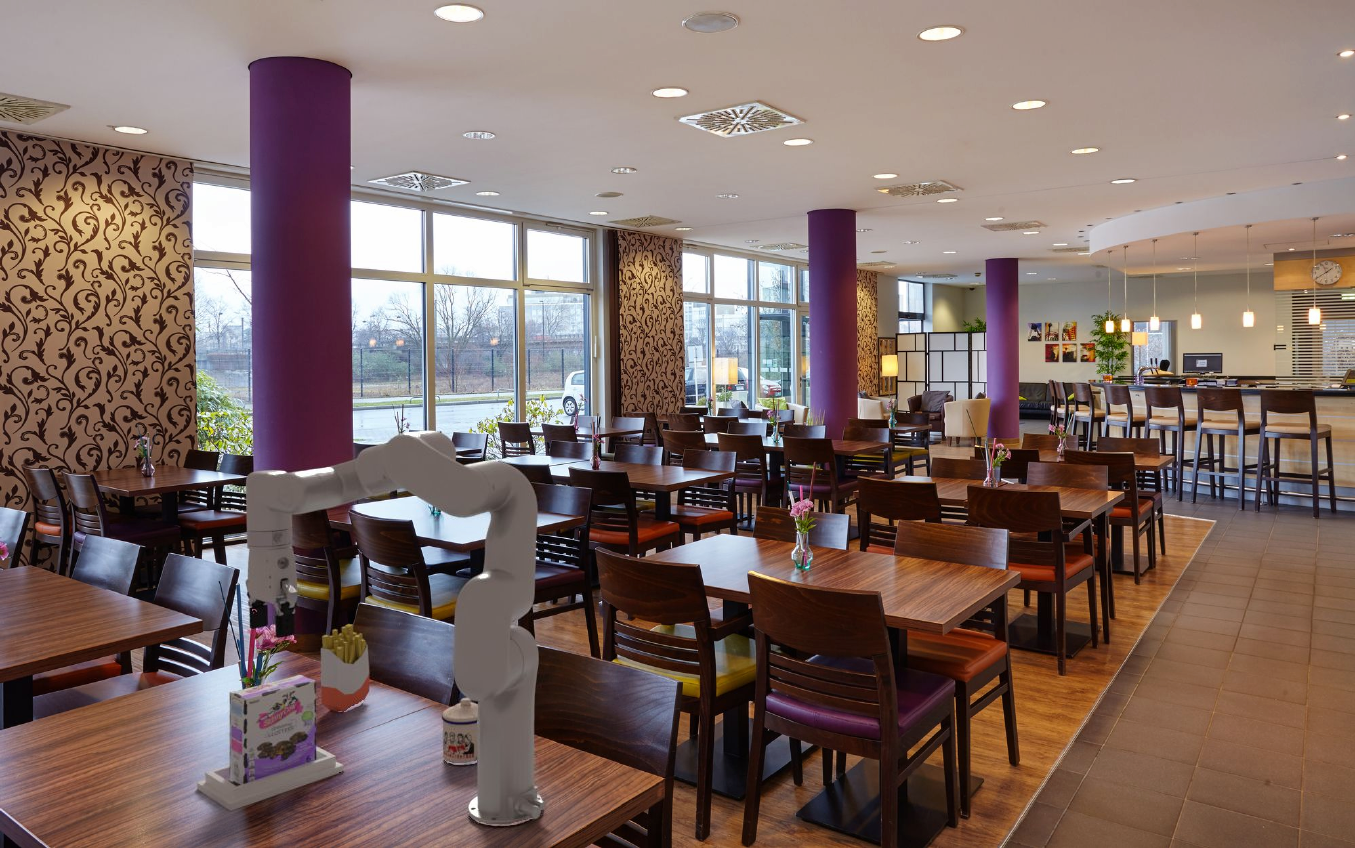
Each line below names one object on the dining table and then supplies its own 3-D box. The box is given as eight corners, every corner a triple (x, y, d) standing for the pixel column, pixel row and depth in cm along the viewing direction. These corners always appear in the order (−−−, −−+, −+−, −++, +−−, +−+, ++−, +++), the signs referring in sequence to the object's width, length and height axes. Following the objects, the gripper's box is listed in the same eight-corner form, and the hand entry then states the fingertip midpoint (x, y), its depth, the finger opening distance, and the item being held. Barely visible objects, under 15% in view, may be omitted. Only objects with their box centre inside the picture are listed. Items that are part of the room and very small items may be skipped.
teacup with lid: (433, 764, 175) (432, 704, 174) (456, 746, 183) (456, 689, 183) (490, 771, 172) (490, 710, 171) (510, 752, 180) (510, 694, 180)
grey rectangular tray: (343, 771, 171) (343, 755, 171) (230, 810, 155) (230, 793, 155) (308, 753, 179) (308, 738, 179) (197, 788, 163) (196, 772, 163)
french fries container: (370, 701, 209) (370, 623, 208) (337, 717, 199) (337, 635, 198) (354, 698, 211) (354, 622, 210) (321, 714, 200) (320, 633, 200)
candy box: (244, 791, 160) (243, 698, 159) (228, 781, 163) (227, 691, 163) (317, 765, 170) (317, 679, 170) (301, 757, 174) (300, 672, 173)
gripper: (313, 540, 163) (315, 635, 163) (267, 531, 174) (269, 620, 174) (272, 546, 157) (274, 644, 158) (227, 536, 168) (229, 628, 169)
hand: (271, 631), depth 166 cm, fingers open, 9 cm apart
